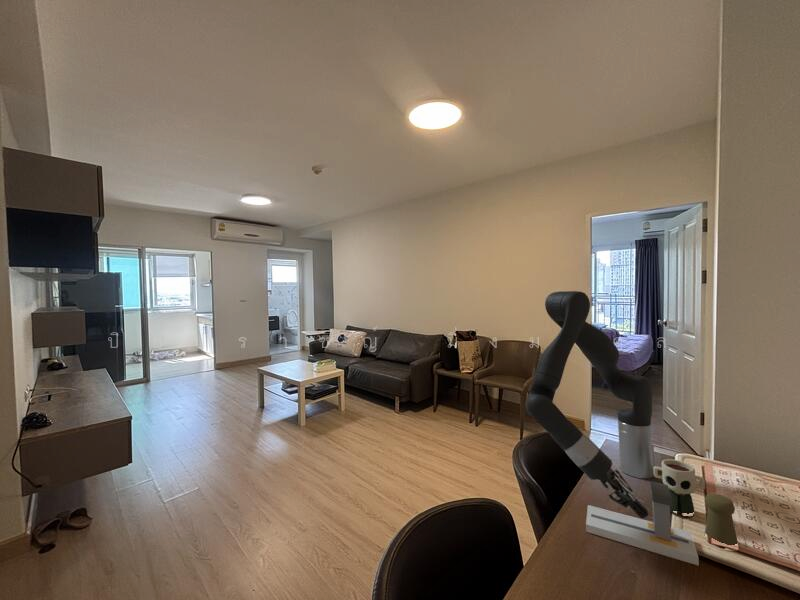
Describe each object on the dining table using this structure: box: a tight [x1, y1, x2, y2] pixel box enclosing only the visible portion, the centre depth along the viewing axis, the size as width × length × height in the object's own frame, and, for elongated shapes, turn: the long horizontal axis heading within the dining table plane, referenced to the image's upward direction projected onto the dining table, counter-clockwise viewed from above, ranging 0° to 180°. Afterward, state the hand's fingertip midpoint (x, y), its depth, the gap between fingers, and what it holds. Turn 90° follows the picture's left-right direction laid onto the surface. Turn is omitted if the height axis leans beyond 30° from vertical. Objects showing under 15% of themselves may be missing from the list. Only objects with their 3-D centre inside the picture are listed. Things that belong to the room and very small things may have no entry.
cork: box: [704, 493, 739, 545], centre depth 80 cm, size 6×6×11 cm
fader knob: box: [649, 480, 672, 541], centre depth 80 cm, size 4×6×11 cm, turn 147°
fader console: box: [585, 504, 700, 567], centre depth 83 cm, size 22×9×2 cm, turn 57°
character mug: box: [653, 458, 706, 514], centre depth 91 cm, size 11×7×13 cm, turn 49°
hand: (645, 515), depth 82 cm, fingers closed
